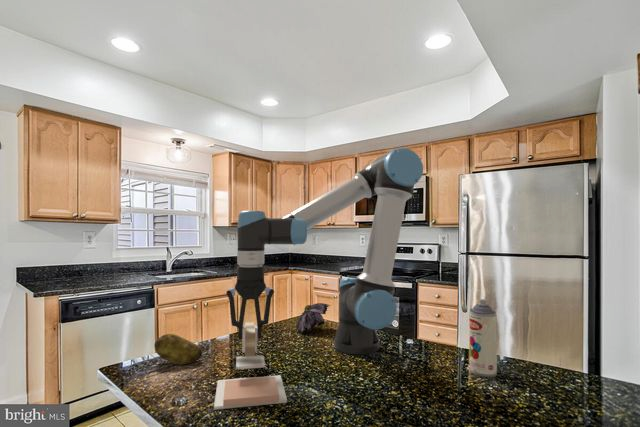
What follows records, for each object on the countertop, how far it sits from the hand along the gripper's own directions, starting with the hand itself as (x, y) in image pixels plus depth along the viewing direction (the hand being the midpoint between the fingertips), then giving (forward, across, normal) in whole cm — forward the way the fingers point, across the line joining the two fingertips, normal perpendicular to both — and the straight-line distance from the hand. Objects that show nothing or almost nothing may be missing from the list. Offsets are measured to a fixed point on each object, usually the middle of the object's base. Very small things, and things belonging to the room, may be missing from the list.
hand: (249, 350), depth 100 cm
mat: (+6, 0, -14) cm, 15 cm away
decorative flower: (+6, +25, +35) cm, 44 cm away
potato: (+6, -20, +10) cm, 23 cm away
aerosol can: (+6, +64, -14) cm, 65 cm away
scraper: (0, 0, -3) cm, 3 cm away
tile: (+4, 0, -11) cm, 12 cm away
